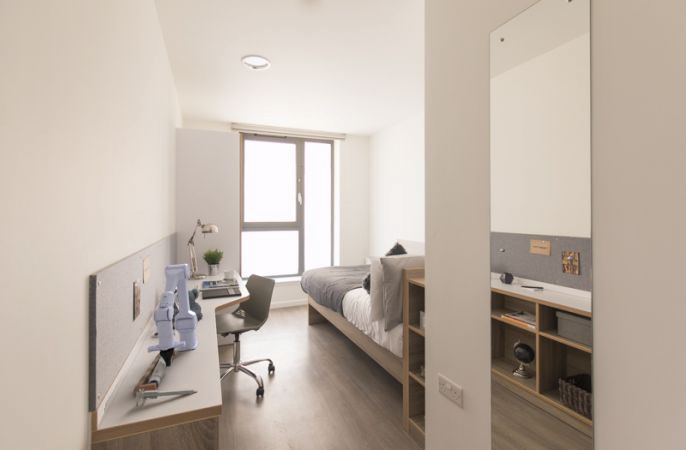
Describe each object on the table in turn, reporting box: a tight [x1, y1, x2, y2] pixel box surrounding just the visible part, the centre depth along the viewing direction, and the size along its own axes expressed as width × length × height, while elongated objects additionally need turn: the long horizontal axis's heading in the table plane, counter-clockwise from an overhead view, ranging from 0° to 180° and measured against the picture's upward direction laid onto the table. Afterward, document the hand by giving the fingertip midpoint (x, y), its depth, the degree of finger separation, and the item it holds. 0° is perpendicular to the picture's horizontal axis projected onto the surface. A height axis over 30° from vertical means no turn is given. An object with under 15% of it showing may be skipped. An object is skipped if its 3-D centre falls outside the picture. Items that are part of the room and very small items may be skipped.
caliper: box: [135, 388, 198, 407], centre depth 125 cm, size 20×1×6 cm, turn 111°
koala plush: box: [173, 287, 203, 320], centre depth 214 cm, size 17×18×20 cm
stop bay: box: [133, 349, 177, 397], centre depth 145 cm, size 32×8×3 cm, turn 14°
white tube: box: [147, 357, 173, 388], centre depth 145 cm, size 5×7×25 cm
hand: (168, 365), depth 146 cm, fingers closed
